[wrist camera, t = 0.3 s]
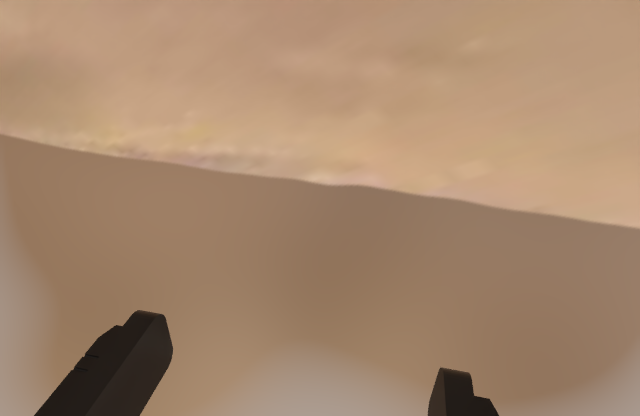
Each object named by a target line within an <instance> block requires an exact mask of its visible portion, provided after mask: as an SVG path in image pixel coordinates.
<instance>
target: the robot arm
mask: <svg viewBox="0 0 640 416" xmlns="http://www.w3.org/2000/svg"><path fill="white" fill-rule="evenodd" d="M172 354H173V346H172V342H171V338H170V334H169V330H168V326H167V322H166V318H165V316H164V315H162V314H158V313H152V312H147V311H141V310H138V311H136V312H134V313H133V314H132V315H131V317H130V318H129V319H128V320H127V322H126V323H125V324H124V325H123V326H118V325H116V326H114V327H113V328H111V329H110V330H109V331H107V332H106V333H104V334H103V335H102V336H100V337H99V338H98V339H97V340H96V341H95V342H94V344H93V345H92V346H91V347H90V348H89V350H88V351H87V352H86V353H85V356H84V357H82V358H81V359H80V361H79V362H78V363H77V364H76V366H75V367H74V370H71V372H70V373H69V374H68V375H67V376H66V378H65V379H64V380H63V381H62V382H61V384H60V385H59V386H58V387H57V389H56V390H55V391H54V392H53V393H52V394H51V396H50V397H49V398H48V400H47V401H46V402H45V403H44V404H43V406H42V407H41V408H40V409H39V410H38V412H37V413H36V414H35V415H34V416H140V414H141V412H142V411H143V409H144V407H145V406H146V404H147V402H148V400H149V399H150V397H151V395H152V394H153V392H154V390H155V389H156V387H157V385H158V384H159V382H160V380H161V379H162V377H163V375H164V374H165V372H166V370H167V369H168V367H169V364H170V362H171V359H172ZM428 416H499V415H498V413H497V411H496V409H495V408H494V406H493V404H492V402H491V401H490V399H487V398H482V397H477V396H474V393H473V385H472V379H471V375H470V374H469V373H468V372H462V371H457V370H451V369H446V368H440V369H439V372H438V375H437V378H436V382H435V385H434V388H433V391H432V394H431V398H430V401H429V408H428Z"/></svg>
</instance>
